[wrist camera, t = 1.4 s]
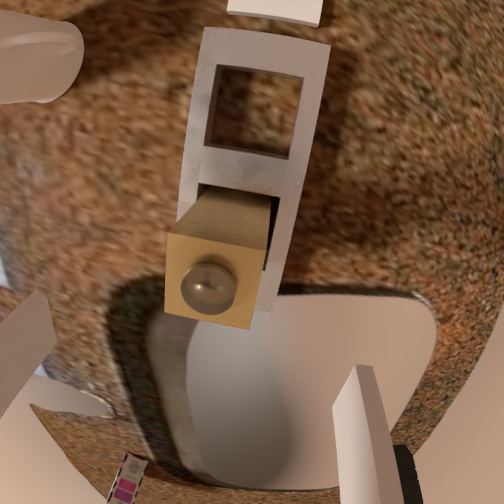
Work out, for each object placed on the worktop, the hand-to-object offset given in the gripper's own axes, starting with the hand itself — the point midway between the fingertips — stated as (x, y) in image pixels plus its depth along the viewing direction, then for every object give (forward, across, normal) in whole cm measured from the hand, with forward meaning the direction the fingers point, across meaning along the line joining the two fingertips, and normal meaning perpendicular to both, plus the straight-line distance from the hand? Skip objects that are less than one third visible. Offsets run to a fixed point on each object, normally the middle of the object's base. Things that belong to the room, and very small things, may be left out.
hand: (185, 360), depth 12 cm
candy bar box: (+17, -14, -54) cm, 59 cm away
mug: (+16, -19, +14) cm, 29 cm away
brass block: (+16, 0, 0) cm, 17 cm away
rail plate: (+16, 0, +4) cm, 17 cm away
